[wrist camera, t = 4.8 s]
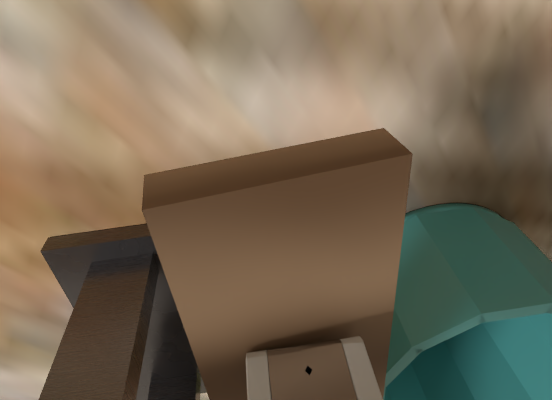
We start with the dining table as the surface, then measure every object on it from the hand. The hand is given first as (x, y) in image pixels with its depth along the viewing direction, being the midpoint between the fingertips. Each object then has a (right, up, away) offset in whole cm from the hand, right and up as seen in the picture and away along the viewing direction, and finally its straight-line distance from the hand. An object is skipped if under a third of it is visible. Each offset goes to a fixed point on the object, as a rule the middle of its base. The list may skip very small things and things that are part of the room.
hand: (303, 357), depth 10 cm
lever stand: (-8, -3, +14) cm, 16 cm away
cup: (+8, -1, +15) cm, 17 cm away
